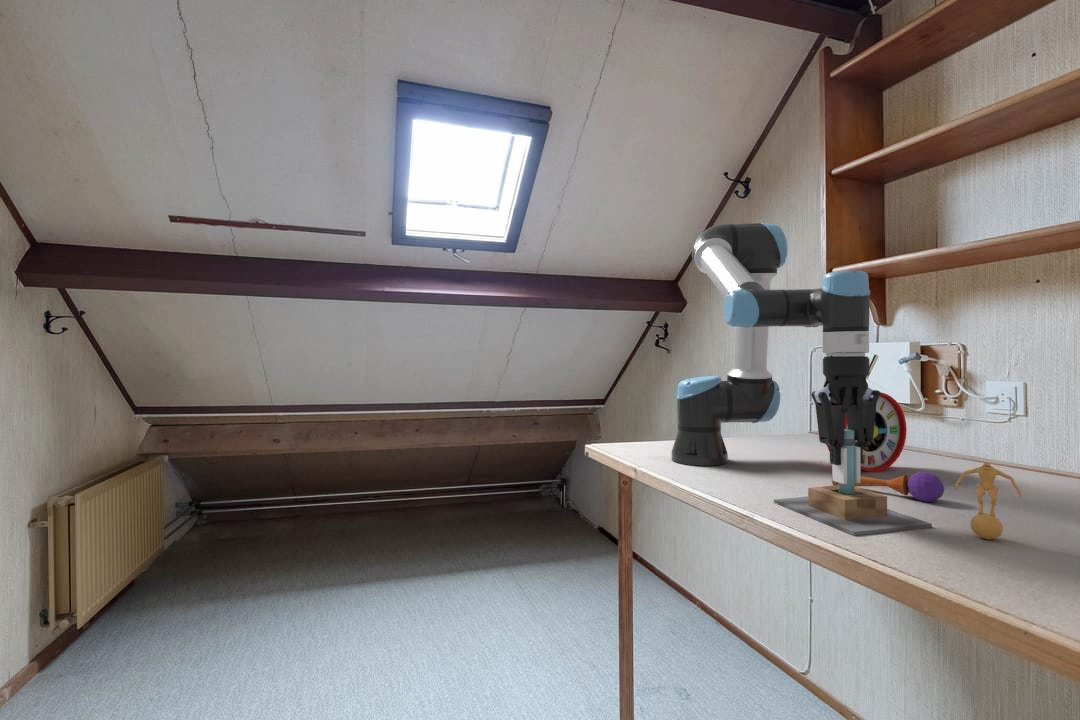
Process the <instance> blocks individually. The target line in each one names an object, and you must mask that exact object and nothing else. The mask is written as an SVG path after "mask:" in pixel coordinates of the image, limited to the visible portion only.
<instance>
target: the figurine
mask: <svg viewBox="0 0 1080 720" xmlns="http://www.w3.org/2000/svg"><path fill="white" fill-rule="evenodd" d="M976 473H977V474H978V476H979V478H980V481H981V483H977V484H976V485H975V486H976V498H977V503H978V504H979V506H978V510H979V511H978V513H977V514H976V515H974V516H973V517H972V518H971V519H970V528H971V530H972V532H973V533H974V534H975V535H976V536H978V537H980V538H982V539H984V540H995V539H997V538H998V539H999V537H1000V536H1002V534H1003V532H1004V526H1003V524H1002V521H1000V519H999V518H997V516H996V515H995V507H996V506H997V502H996V501H997V499H998V497H999V496H998V494H999V493H998V491H999V487H998V486H997V485H993V484H994V482H995V479H996V477H997V476H1000V477H1002V478H1004V479H1007V480H1010V483H1011V484H1012V486H1013V488H1014V489H1015V490H1016V495H1018V497H1019V498H1021V499H1022V497H1023V496H1022V492H1021V490H1020V487H1019V486H1018V485H1017V483H1016V482H1015V478H1014V477H1012V476H1011V475H1009V474H1008V473H1004V472H1003V471H1001V470H999V469H996V468H995V467H994V466H992V465H991V463H990V462H988V461H987V462H986V461H985V462H984V463H983V464H982V465H981V466H979V467H974V468H972V469H968V470H965V471H963V472H962V473H961V475H960V477H959V478H958V479H957V480H956V483H955V485H954V490H958V487H959V486H960V485H959V484H960V483H961V482H962V481H963V480H964V478H965V476H966V475H972V474H976ZM986 492H988V496H990V497H991V501H990V505H991V506H990V511H989V513H985V512H984V504H983V503H984V501H983V499H982V497H984V496H985V495H986Z"/></svg>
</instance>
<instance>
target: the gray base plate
mask: <svg viewBox="0 0 1080 720" xmlns="http://www.w3.org/2000/svg"><path fill="white" fill-rule="evenodd" d="M807 489H808V491H807V493H808V495H807V496H798V497H788V498H785V497H784V498H776V499H775V498H774V499H773V503H774V502H775V503H774V504H776V503H778V504H777V505H779V504H780V505H779V506H781V505H782V507H784V508H786V507H787V508H786V509H788V508H789V509H788V510H791V511H793V512H795V513H799V514H801V515H803V516H805V517H808V518H810V519H812V518H813V519H812V520H814V521H818V522H819V523H822V524H825V525H827V526H829V527H831V528H835V529H837V530H840V531H841V532H843V533H846V534H849V535H851V536H862V535H872V534H880V533H881V534H882V533H891V532H900V531H908V530H916V529H917V530H918V529H928V528H932V527H933V523H931V522H928V521H925V520H922V519H918V518H917V517H913V516H910V515H906V514H903V513H901V512H898V511H895V510H891V509H888V496H887V495H883V494H881V493H877V492H874V491H871V490H867V489H864V488H861V487H859V486H855V495H843V494H840V493H839V485H834V486H833V485H824V486H823V485H822V486H814V487H813V486H812V487H808V488H807Z"/></svg>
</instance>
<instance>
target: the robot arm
mask: <svg viewBox="0 0 1080 720" xmlns="http://www.w3.org/2000/svg"><path fill="white" fill-rule="evenodd" d="M787 242H788V241H787V238H786V234H785V233H784V231H783V229H782V228H781V227H780V226H779V225H778V224H775V223H765V222H759V223H757V222H756V223H733V224H732V223H731V224H730V223H723V224H722V223H721V224H716V225H713V226H710V227H709V228H706V229H705V230H704V231H702V232H701V233H700V234H699V235H698V236H697V237H696V239H695V241H694V243H693V245H692V248H691V259H692V262H693V263H694V265H695V266H696V268H697V270H699V272H701V273H703V274H706V275H707V276H708V278H709V279H710V281H712V283H713V285H714V287H716V289H717V290H718V291H719V293H720V294H721V296H722V297H723V306H722V313H723V316H724V321H725V323H726V324H727V325H728V326H730V327H733V328H734V339H733V365H732V366H733V367H732V369H731V370H730V371H728V372H727V374H726V375H727V376H726V380H722V378H721V376H720V375H708V376H698V377H692V378H691V377H690V378H687V379H683V380H681V381H680V382H679V383H678V385H677V391H676V393H677V394H676V400H677V401H676V405H677V406H676V407H677V413H676V415H677V434H676V437H675V440H674V443H673V446H672V449H671V460H672V461H673V462H675V463H677V464H683V465H684V464H685V465H689V466H690V465H692V466H719V465H725V464H727V463H728V462H729V459H728V458H729V454H728V450H727V448H726V445H725V442H724V439H723V436H722V423H723V424H724V423H752V424H756V423H763V422H769V421H771V420H773V419H774V417H775V416H776V415H777V413H778V411H779V408H780V403H781V392H780V385H779V384H778V382H777V381H776V380H773V374H772V373H771V372H770V371H769V370H768V344H769V327H772V328H773V327H803V328H804V327H805V328H817V327H821V326H822V353H823V354H825V356H824V357H823V358H822V374H823V375H824V377H825V381H824V383H823V387H822V389H820V390H818V391H815V390H813V391H812V392H811V397H812V400H813V402H814V404H815V405H814V406H815V413H816V423H817V431H818V439H819V442H820V443H821V444H824V445H826V446H827V445H828V446H829V447H830V452H829V463H830V465H832V466H831V467H832V469H831V470H832V471H831V472H832V475H831V482H832V481H836V482H839V483H842V484H847V448H842V447H843V440H844V429H845V418H846V416H847V425H848V430H854V438H855V445H854V456H855V482H856V483H861V476H862V475H861V474H862V473H861V471H862V470H861V463H862V461H863V447H867V446H868V444H867V443H868V442H869V443H871V442H872V441H873V434H874V424H875V414H876V404H877V401H878V398H879V396H880V392H881V391H880V390H877V389H872V388H870V387H869V384H868V382H867V381H868V380H867V377H868V376H869V375H870V372H871V371H870V369H871V368H870V357H869V356H867V355H866V354H868V353H869V352H870V306H871V305H870V296H871V289H870V286H869V285H870V283H869V275H868V273H867V272H866V271H863V270H856V269H855V270H853V269H852V270H849V269H848V270H839V271H833V272H832V271H831V272H828V273H826V274H824V275H823V277H822V282H821V285H820V286H821V287H820V288H809V289H808V288H806V289H805V288H804V289H801V288H800V289H797V288H796V289H771V281H772V280H773V279H774V278H775V277H776V276H777V275H778V269H779V268H782V267H783V266H784V264H785V263H786V260H787V258H788V257H787V256H788V243H787ZM837 405H840V406H837ZM835 439H836V440H835Z"/></svg>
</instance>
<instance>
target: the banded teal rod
mask: <svg viewBox="0 0 1080 720" xmlns="http://www.w3.org/2000/svg"><path fill="white" fill-rule="evenodd" d="M854 445H855V438H854V430H848V429H844V440H843V447H842V448H847V484H842V483H839V493H840V494H843V495H855V487H856V486H855V456H854Z"/></svg>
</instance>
